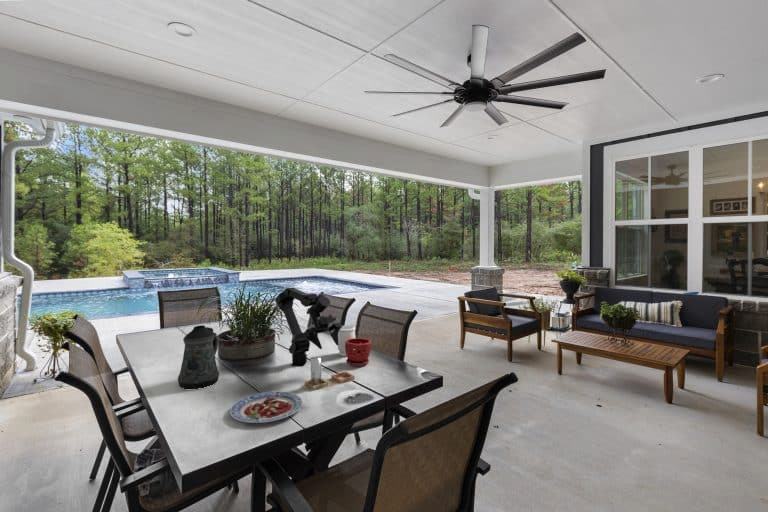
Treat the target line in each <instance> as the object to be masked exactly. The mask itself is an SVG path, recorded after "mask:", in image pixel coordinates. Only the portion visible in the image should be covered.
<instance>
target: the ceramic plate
mask: <svg viewBox="0 0 768 512" xmlns="http://www.w3.org/2000/svg"><path fill="white" fill-rule="evenodd" d="M260 401H263V402H261V403H258V402H260ZM303 401H304V400H303V399H302V398H301V397H300V396H299V395H297V394H296V393H292V392H289V391H288V392H287V391H276V390H275V391H263V392H260V393H259V392H258V393H256V394H251V395H249V396H246V397H243V398H241V399H239V400H238V401H236V402H235V403H233V405H232V406H231V407H230V409H229V414H230V416H231V417H232V418H234V420H237V421H239V422H242V423H249V424H250V423H251V424H259V423H262V424H263V423H269V422H270V423H272V422H275V421H278V420H279V421H280V420H283V419H285V418H287V417H290V416H292V415H294V414H295V413H297V412H299V410H300V409H301V408H302V407H303V403H304V402H303ZM254 403H255V404H254Z"/></svg>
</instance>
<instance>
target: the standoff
mask: <svg viewBox="0 0 768 512" xmlns="http://www.w3.org/2000/svg"><path fill="white" fill-rule="evenodd" d="M321 378H322V357H321V356H312V357H311V358H310V380H311V385H312V386H315V385H319V384H321Z"/></svg>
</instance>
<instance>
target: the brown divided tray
mask: <svg viewBox="0 0 768 512" xmlns="http://www.w3.org/2000/svg"><path fill="white" fill-rule="evenodd" d="M330 376H331V378H327V379H324V378H322V377H321V384H319V385H315V386H312V385H311V379H309V380H305V381H304V382H303V383H304V384H303V385H302V386H303V387H304V388H305V389H307V390H308V391H309V392H315V391H319V390H323V389H325V388H331V387H335V386H337V385H342V384H345V383H349V382H354V381H357V379H356V378H355V376H354V375H353V374H352V373H350V372H348V371H343V372H338V373H334V374H333V373H332V374H331V375H330Z"/></svg>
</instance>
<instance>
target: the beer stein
mask: <svg viewBox="0 0 768 512" xmlns="http://www.w3.org/2000/svg"><path fill="white" fill-rule="evenodd" d="M182 340H183V344H184V350H183V354H182V355H183V356H182V360H181V361H182V362H181V367H180V371H179V375H178V376H177V383H178V386H180V387H181V388H184V389H183V390H185V389H197V390H199V389H198V388H203V389H205V388H204V387H207V386H210V385H213V384H214V385H216V384H217V383H218V382H219V378H220V372H219V369H218V366H217V362H216V361H217V360H216V354H217V351H218V347H219V343H220V341H219V337H218V335H217V333H216V332H214V328H212V327H208V326H207V327H206V325H203V324H202V325H201V324H200V325H196V326H193V329H191V331H190V332H188V333H187V334H186V335H184V337H183V339H182ZM217 381H218V382H217ZM216 382H217V383H216ZM215 383H216V384H215ZM214 385H213V386H214ZM180 387H179V388H180ZM210 387H211V386H210ZM181 388H180V389H181ZM207 388H208V387H207Z"/></svg>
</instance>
